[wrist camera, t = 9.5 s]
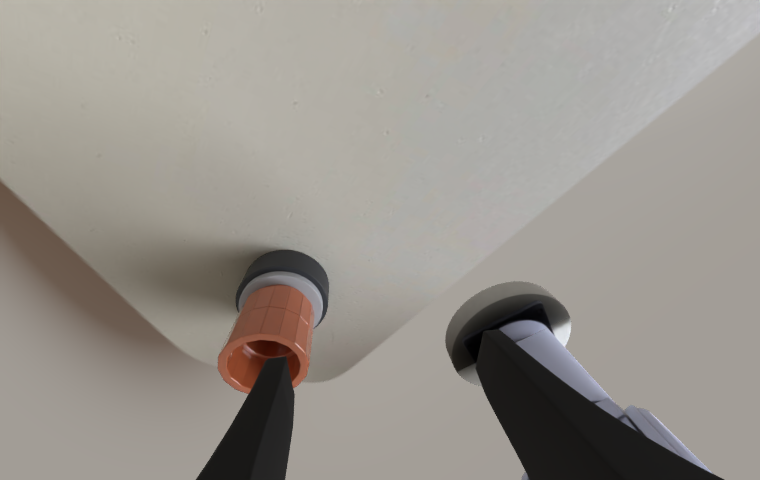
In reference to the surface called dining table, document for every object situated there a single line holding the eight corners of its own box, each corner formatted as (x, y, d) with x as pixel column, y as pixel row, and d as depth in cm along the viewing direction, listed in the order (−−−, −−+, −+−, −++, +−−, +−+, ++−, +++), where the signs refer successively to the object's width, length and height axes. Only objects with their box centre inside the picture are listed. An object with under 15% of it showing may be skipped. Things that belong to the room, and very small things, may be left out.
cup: (327, 314, 18) (325, 371, 14) (274, 344, 18) (258, 407, 15) (286, 268, 16) (271, 319, 13) (229, 302, 17) (197, 361, 13)
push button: (344, 293, 20) (344, 317, 18) (280, 329, 21) (273, 356, 19) (296, 234, 18) (290, 254, 16) (226, 276, 19) (211, 300, 17)
